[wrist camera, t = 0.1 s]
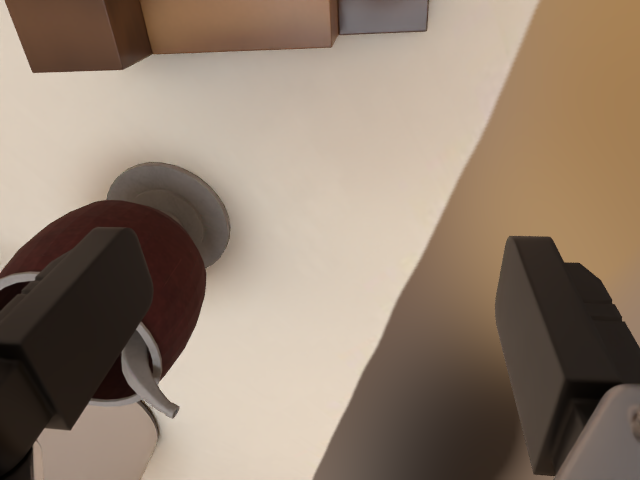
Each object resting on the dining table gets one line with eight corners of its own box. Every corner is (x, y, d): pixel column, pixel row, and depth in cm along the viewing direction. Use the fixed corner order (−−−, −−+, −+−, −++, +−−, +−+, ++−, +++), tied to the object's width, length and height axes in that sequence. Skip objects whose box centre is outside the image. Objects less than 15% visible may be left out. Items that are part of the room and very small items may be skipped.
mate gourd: (101, 253, 50) (-43, 413, 34) (101, 134, 42) (-88, 268, 26) (241, 294, 51) (166, 471, 34) (266, 185, 43) (185, 347, 26)
